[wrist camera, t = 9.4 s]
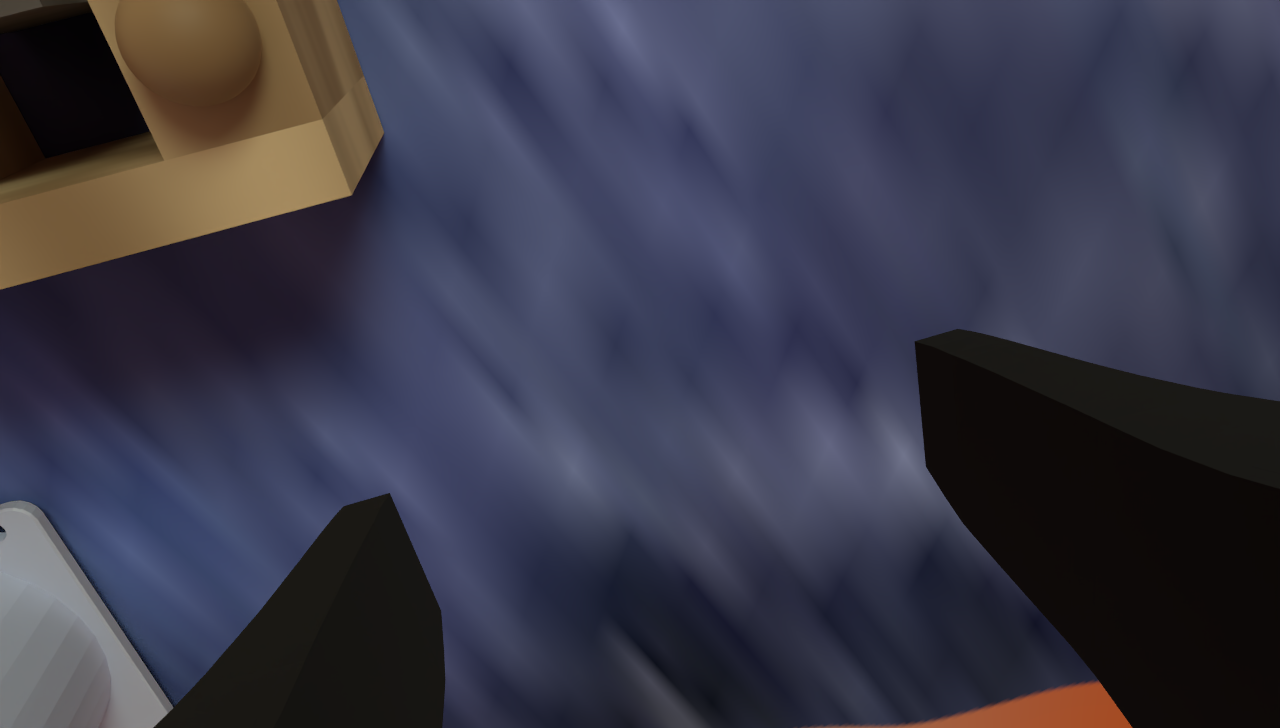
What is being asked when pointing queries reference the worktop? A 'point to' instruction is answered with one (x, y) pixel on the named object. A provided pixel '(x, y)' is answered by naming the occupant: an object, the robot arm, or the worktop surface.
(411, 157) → the worktop surface
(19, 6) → the beige block
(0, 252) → the bracket
